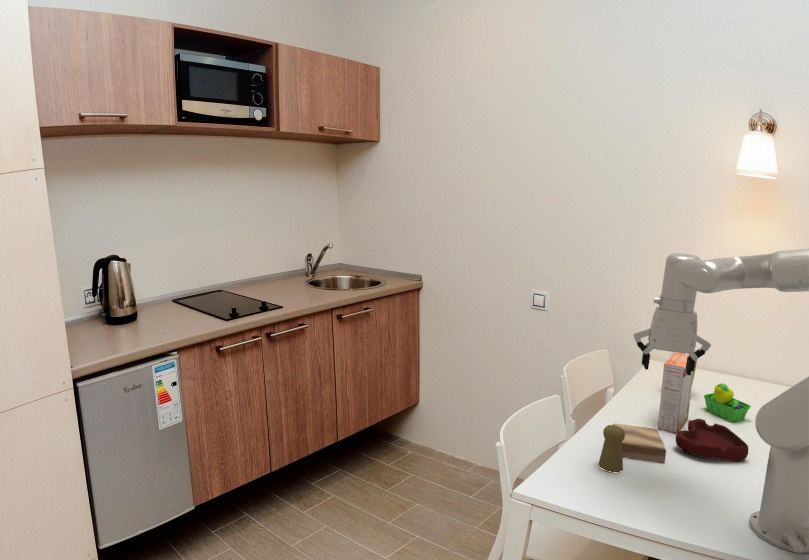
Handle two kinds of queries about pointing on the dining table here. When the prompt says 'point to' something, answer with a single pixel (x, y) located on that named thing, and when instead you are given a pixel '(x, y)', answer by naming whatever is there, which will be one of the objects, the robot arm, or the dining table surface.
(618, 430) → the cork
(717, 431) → the ashtray
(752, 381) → the dining table surface
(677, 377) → the cracker box
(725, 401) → the fruit basket
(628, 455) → the walnut stand
